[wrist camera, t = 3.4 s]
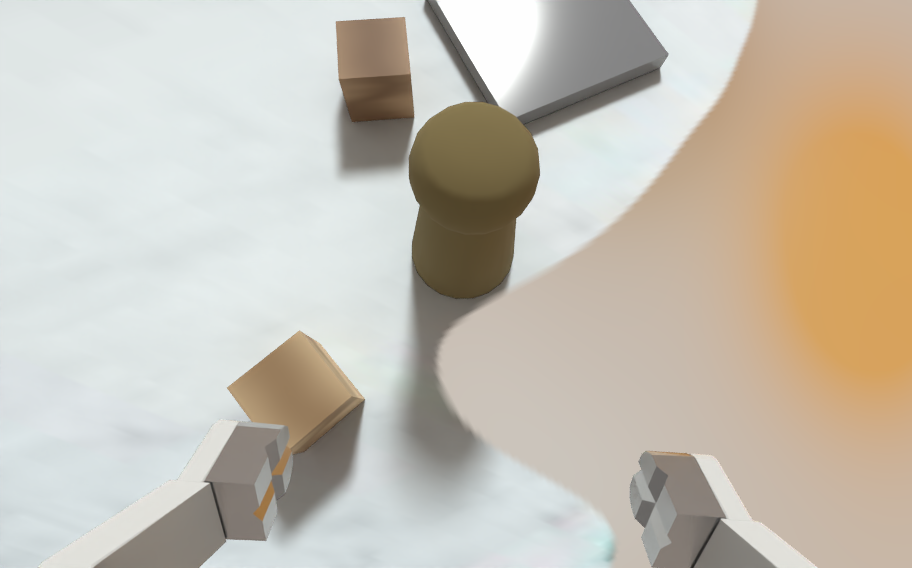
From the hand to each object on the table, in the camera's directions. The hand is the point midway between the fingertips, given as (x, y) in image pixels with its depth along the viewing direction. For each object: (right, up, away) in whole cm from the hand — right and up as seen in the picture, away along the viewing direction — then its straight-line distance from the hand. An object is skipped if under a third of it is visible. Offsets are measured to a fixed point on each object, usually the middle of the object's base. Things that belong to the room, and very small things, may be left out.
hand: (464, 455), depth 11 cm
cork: (0, +6, +17) cm, 18 cm away
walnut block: (-5, +16, +20) cm, 26 cm away
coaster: (+6, +21, +21) cm, 31 cm away
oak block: (-8, -2, +14) cm, 16 cm away
